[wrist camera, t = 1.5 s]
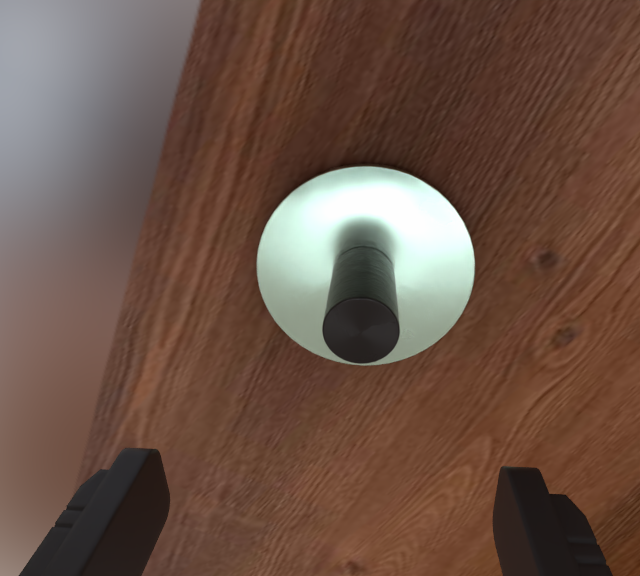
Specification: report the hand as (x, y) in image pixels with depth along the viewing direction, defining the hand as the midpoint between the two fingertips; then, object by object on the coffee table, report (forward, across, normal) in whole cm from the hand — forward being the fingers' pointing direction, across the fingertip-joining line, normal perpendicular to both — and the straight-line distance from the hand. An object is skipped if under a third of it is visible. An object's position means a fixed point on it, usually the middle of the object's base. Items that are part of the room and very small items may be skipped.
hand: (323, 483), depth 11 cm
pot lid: (+15, -1, +1) cm, 15 cm away
